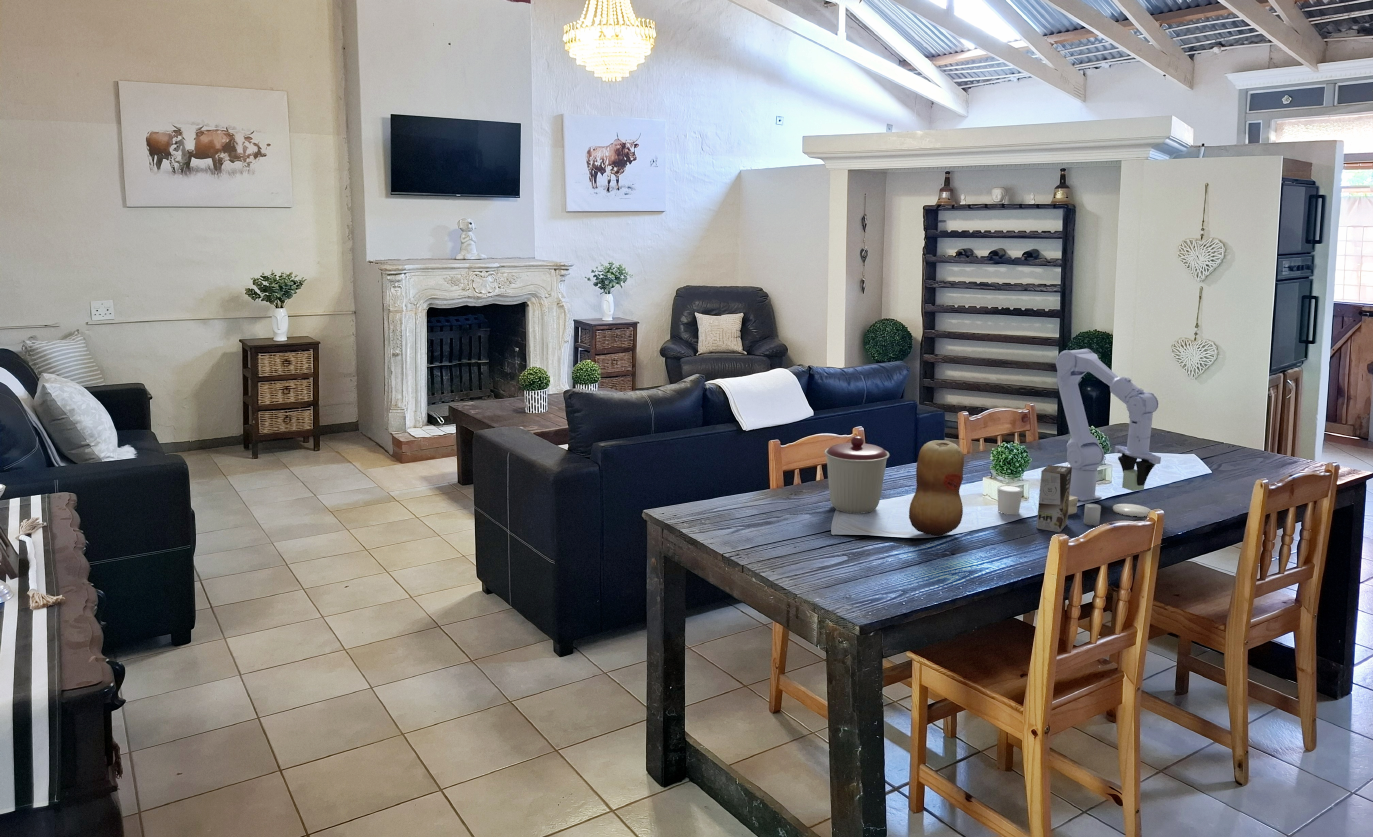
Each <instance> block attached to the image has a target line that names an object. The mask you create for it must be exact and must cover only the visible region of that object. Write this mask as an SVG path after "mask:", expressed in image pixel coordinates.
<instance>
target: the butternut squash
mask: <svg viewBox="0 0 1373 837" xmlns="http://www.w3.org/2000/svg"><path fill="white" fill-rule="evenodd" d="M917 457H918V458H917V462H916V468H915V475H916V476H915V477H916V478H915V481H916V485H915V486H916V488H915V493H914V495H913V497H912V499H911V502H910V504H909V510H908V519H909V521H910V524H911V526H912V527H913V528H914V529H915V530H916V531H917V532H919V533H922V534H924V535H930V536H933V537H942V536H945V535H947V534H949V533H951V532H953V531H955V530H956V529H957V528H958V527H959V526H960V524H961V522H962V519H963V514H964V508H963V507H964V506H963V501H962V498H961V495H960V489H961V486H962V483H963V480H964V466H965V465H964V464H965V463H964V462H965V461H964V460H965V458H964V452H963V450H962V448H960V447H959V446H958V445H957V444H956V443H953V441H952V442H951V441H949V440H940V439H939V440H931V441H928V442H926V443H924V444H923V446H921V448H920V450H919V453H918V456H917Z"/></svg>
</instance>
